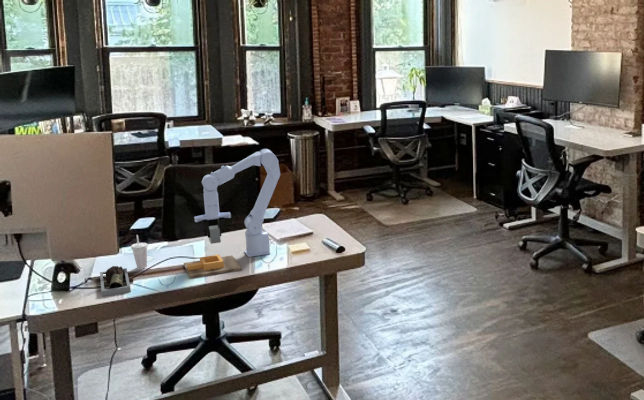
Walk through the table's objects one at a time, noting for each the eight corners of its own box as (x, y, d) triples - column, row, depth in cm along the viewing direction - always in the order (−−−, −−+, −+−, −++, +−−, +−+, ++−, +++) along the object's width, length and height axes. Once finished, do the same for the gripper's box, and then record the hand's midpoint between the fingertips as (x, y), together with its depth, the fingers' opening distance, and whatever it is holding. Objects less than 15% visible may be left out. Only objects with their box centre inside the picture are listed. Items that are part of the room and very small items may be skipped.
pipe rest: (127, 273, 252) (126, 268, 251) (130, 291, 233) (130, 286, 232) (100, 277, 249) (99, 272, 248) (102, 296, 229) (101, 291, 229)
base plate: (232, 257, 264) (232, 255, 264) (241, 270, 249) (241, 267, 249) (183, 265, 258) (183, 263, 257) (190, 278, 243) (189, 276, 243)
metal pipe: (123, 292, 233) (121, 277, 232) (104, 295, 232) (102, 280, 230) (125, 275, 250) (123, 261, 248) (107, 277, 248) (105, 264, 247)
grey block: (218, 239, 266) (217, 225, 264) (220, 242, 261) (219, 228, 260) (208, 240, 264) (207, 226, 263) (210, 243, 260) (209, 229, 258)
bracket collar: (219, 260, 259) (219, 254, 258) (223, 267, 251) (223, 261, 250) (186, 265, 254) (185, 259, 254) (189, 272, 246) (189, 266, 246)
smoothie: (130, 269, 255) (126, 236, 252) (140, 264, 261) (136, 231, 258) (144, 271, 253) (139, 237, 250) (153, 265, 259) (149, 232, 255)
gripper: (227, 200, 265) (229, 231, 268) (192, 204, 260) (195, 236, 263) (230, 203, 258) (233, 235, 262) (194, 208, 254) (197, 240, 257)
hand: (214, 236), depth 262 cm, fingers closed on grey block, 4 cm apart
